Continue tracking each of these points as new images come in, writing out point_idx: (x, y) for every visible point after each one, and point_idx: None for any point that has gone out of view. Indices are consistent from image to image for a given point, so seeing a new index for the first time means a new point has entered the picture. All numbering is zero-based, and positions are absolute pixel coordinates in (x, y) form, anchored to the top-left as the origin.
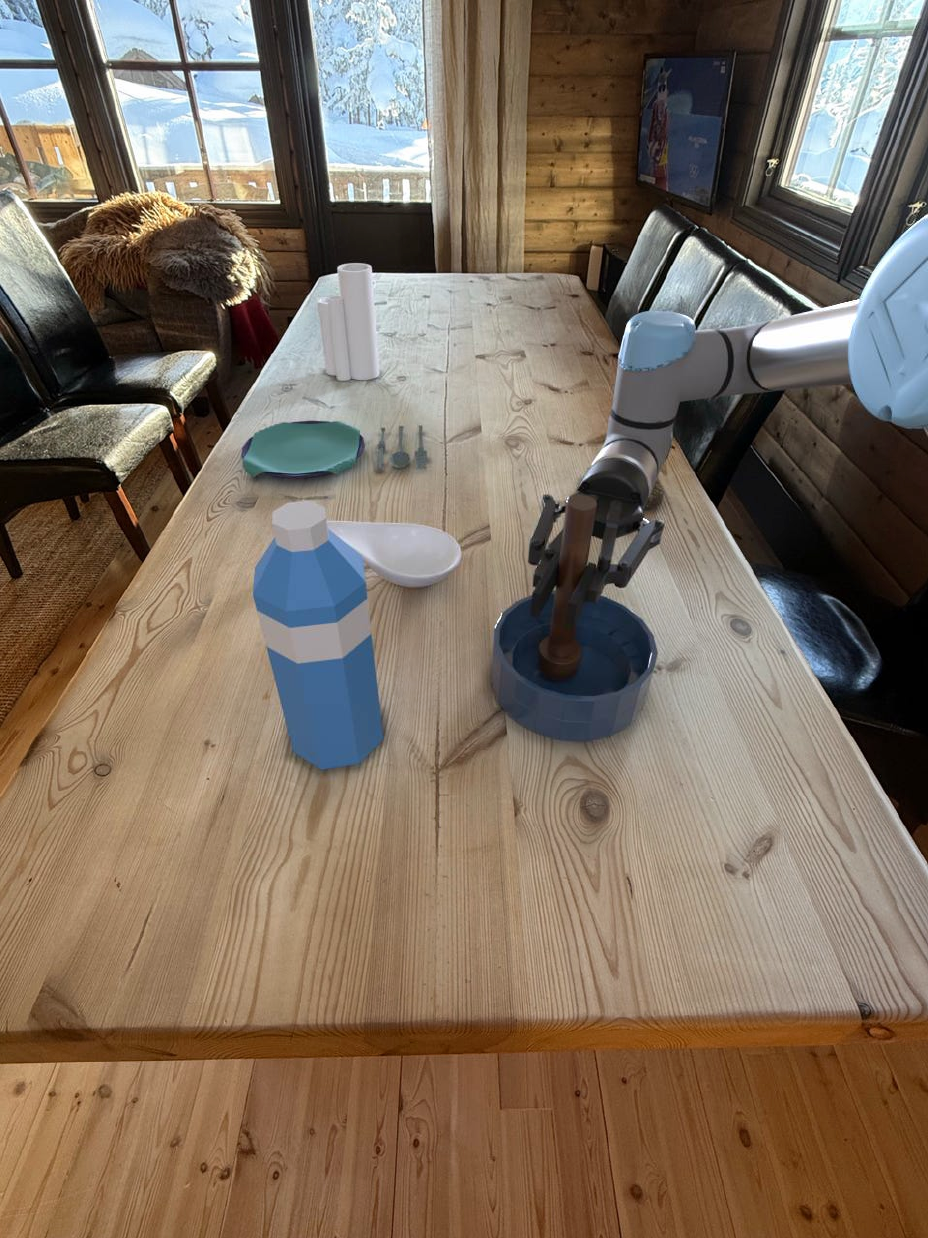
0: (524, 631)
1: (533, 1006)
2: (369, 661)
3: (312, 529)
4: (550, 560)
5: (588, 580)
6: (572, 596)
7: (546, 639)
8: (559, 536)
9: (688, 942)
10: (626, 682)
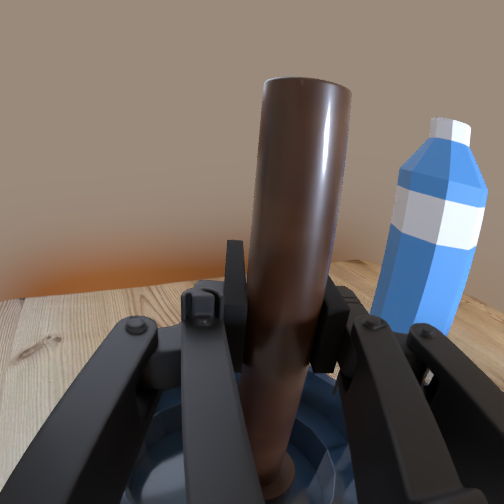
0: (338, 494)
1: (181, 283)
2: (393, 259)
3: (431, 120)
4: (349, 319)
5: (225, 269)
6: (242, 247)
7: (289, 477)
8: (404, 375)
9: (98, 308)
10: (130, 493)
